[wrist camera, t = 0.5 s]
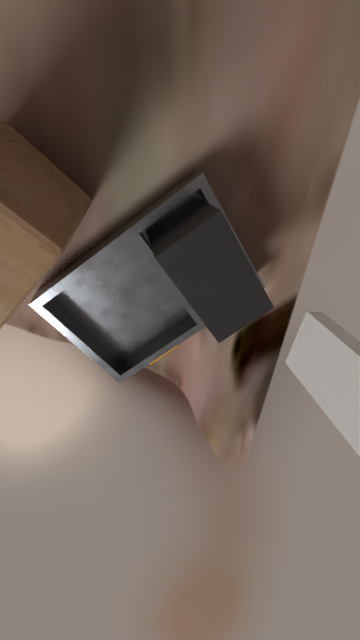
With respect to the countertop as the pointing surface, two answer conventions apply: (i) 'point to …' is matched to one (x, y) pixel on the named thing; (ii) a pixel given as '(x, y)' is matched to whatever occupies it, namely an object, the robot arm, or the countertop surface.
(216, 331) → the rack
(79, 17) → the countertop surface
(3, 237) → the wooden block
